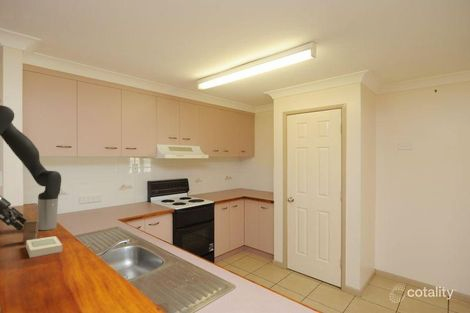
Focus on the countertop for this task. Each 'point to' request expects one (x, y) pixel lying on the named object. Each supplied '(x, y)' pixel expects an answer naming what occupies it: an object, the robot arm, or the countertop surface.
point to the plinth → (43, 246)
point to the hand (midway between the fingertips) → (24, 226)
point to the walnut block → (30, 230)
